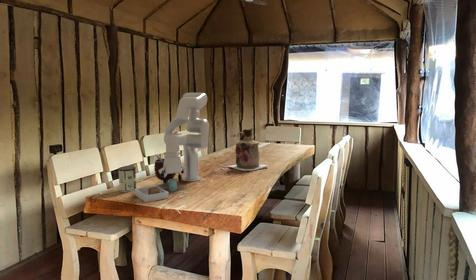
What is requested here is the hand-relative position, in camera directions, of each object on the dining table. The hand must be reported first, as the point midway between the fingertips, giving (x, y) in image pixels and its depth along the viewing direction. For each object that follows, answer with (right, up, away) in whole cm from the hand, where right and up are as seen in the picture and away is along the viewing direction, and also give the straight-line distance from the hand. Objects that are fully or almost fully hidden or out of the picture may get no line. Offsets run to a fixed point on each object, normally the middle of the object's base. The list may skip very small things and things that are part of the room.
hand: (172, 182), depth 227 cm
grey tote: (-10, -7, -11) cm, 17 cm away
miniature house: (-28, -5, +3) cm, 29 cm away
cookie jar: (+48, +4, +68) cm, 84 cm away
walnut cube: (-8, -7, -15) cm, 18 cm away
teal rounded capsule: (0, -5, +2) cm, 5 cm away
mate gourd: (-7, -4, +12) cm, 15 cm away
